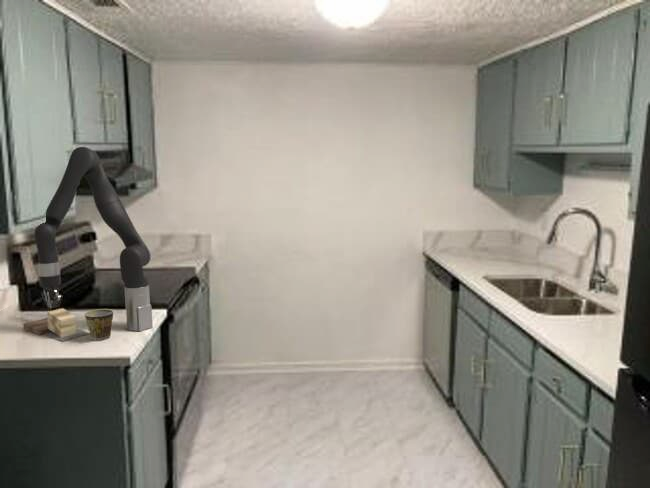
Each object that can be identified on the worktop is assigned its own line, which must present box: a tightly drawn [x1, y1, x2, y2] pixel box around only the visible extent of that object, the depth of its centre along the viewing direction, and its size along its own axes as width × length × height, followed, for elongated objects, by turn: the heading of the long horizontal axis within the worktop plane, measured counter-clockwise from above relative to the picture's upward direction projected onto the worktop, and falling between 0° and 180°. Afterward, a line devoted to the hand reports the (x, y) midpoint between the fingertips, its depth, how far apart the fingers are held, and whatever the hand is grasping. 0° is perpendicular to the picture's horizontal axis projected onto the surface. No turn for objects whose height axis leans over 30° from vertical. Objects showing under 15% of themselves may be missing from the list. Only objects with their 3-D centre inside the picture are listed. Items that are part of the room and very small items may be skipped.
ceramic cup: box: [84, 308, 114, 342], centre depth 207 cm, size 13×10×10 cm
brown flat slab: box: [22, 317, 52, 336], centre depth 221 cm, size 14×12×2 cm
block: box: [47, 307, 77, 337], centre depth 213 cm, size 10×6×7 cm, turn 53°
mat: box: [43, 328, 90, 342], centre depth 214 cm, size 14×11×1 cm
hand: (53, 316), depth 217 cm, fingers closed
